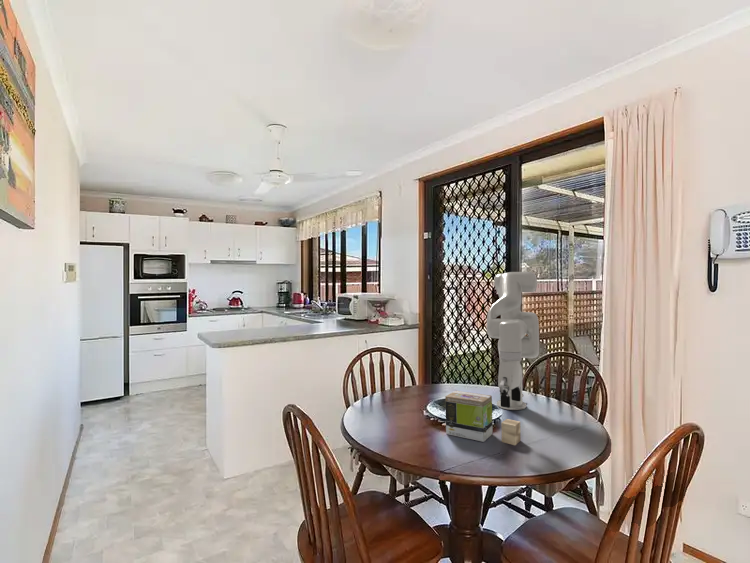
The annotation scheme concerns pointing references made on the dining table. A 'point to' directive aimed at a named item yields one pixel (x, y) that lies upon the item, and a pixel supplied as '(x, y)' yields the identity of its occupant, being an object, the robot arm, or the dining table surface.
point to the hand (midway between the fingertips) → (510, 403)
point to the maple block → (511, 432)
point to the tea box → (469, 415)
